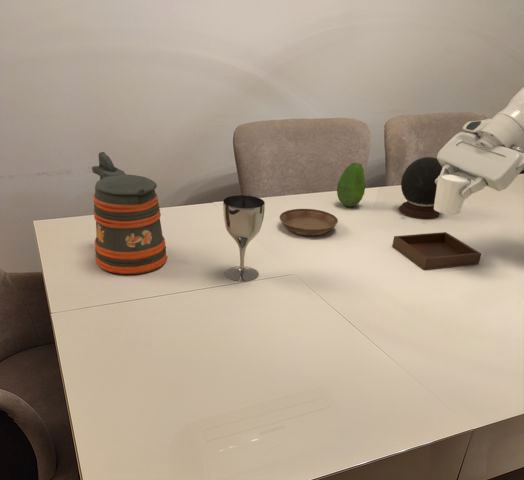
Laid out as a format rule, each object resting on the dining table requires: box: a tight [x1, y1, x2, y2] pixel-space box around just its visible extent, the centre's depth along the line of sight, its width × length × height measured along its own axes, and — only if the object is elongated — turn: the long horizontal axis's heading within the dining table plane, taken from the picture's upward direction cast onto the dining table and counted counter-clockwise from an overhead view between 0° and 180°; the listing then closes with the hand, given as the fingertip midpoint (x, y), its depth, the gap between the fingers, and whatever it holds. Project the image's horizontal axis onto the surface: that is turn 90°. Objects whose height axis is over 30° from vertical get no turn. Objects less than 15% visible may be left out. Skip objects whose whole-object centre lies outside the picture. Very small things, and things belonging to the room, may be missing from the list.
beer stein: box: [91, 151, 168, 275], centre depth 102 cm, size 19×15×20 cm
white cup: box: [434, 173, 472, 215], centre depth 109 cm, size 7×7×7 cm
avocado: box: [336, 162, 366, 208], centre depth 142 cm, size 8×8×12 cm
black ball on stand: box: [398, 156, 443, 220], centre depth 139 cm, size 13×13×15 cm
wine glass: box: [222, 194, 266, 282], centre depth 100 cm, size 8×8×15 cm
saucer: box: [279, 208, 339, 237], centre depth 127 cm, size 15×15×3 cm
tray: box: [391, 231, 482, 271], centre depth 117 cm, size 15×14×3 cm
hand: (449, 190), depth 108 cm, fingers closed on white cup, 7 cm apart
